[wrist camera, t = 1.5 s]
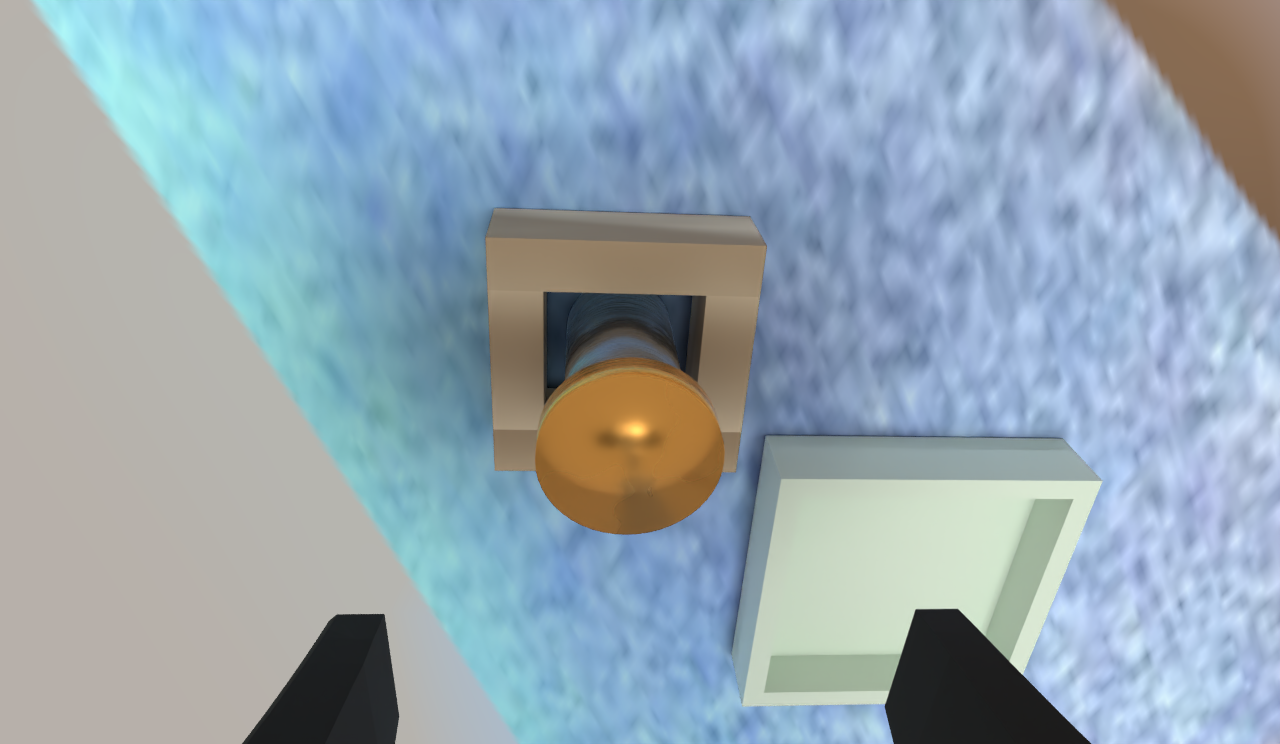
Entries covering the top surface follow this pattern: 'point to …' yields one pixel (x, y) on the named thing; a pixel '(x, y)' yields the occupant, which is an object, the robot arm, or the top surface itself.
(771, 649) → the parts tray
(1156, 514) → the top surface
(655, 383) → the pin
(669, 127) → the top surface
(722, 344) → the collar block
